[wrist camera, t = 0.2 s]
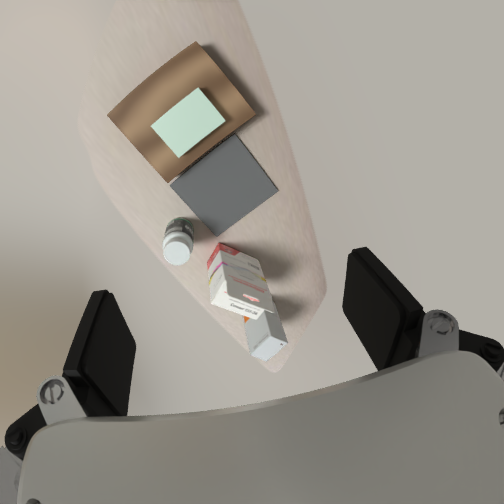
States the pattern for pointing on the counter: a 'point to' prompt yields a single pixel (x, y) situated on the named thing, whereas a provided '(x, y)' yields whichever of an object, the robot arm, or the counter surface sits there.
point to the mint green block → (188, 122)
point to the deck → (167, 96)
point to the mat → (224, 185)
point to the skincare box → (265, 335)
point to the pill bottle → (178, 241)
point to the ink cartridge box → (238, 283)
